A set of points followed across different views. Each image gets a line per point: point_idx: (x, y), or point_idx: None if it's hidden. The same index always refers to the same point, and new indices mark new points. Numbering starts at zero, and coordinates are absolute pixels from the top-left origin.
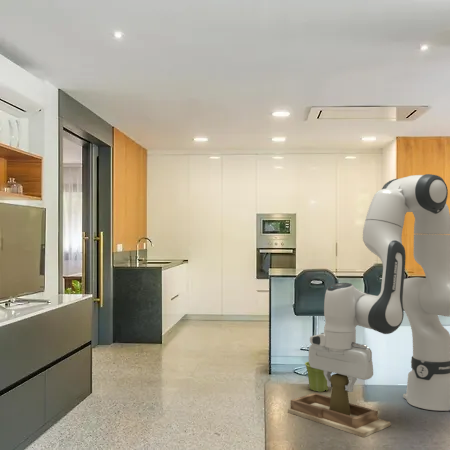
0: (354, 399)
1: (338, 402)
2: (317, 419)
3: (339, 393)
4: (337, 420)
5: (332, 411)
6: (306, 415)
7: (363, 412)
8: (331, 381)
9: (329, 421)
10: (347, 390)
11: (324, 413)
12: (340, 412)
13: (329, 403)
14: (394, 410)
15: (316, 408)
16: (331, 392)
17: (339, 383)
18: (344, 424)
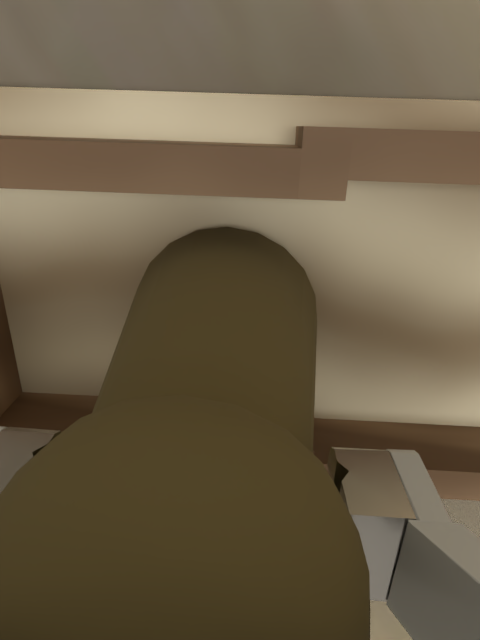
0: (374, 637)
1: (161, 291)
2: (325, 98)
3: (133, 357)
4: (117, 139)
5: (178, 165)
6: (465, 101)
7: (73, 417)
8: (265, 451)
9: (195, 114)
10: (6, 431)
11: (273, 145)
12: (158, 260)
13: (411, 439)
14: None
15: (377, 128)
16: (297, 373)
17: (51, 448)
18: (46, 136)
